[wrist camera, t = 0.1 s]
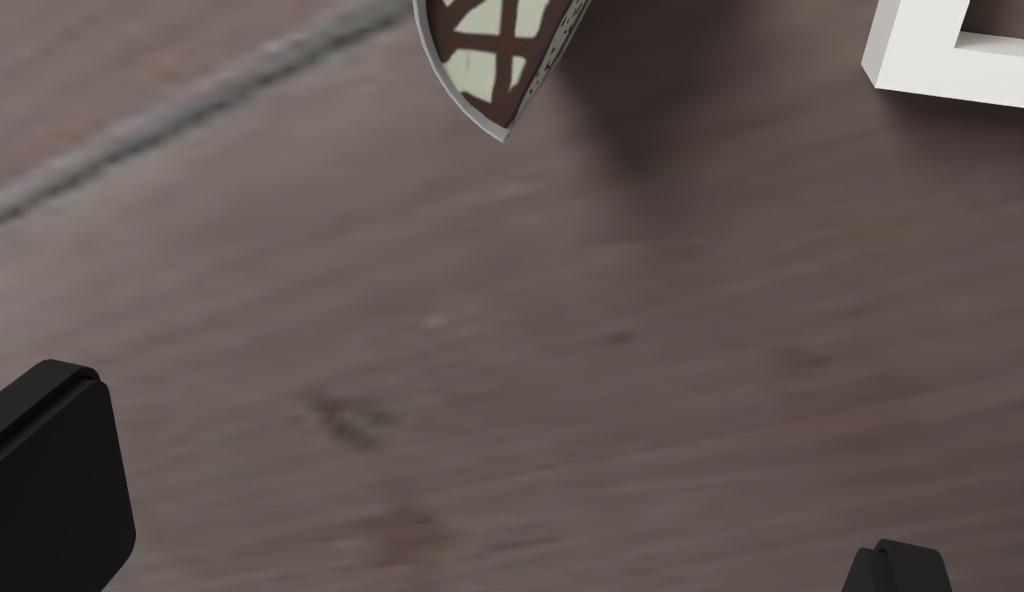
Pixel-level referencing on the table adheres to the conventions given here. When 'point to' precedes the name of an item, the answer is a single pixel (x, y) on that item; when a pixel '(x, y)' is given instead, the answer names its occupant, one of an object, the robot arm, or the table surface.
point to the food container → (496, 52)
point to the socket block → (941, 54)
